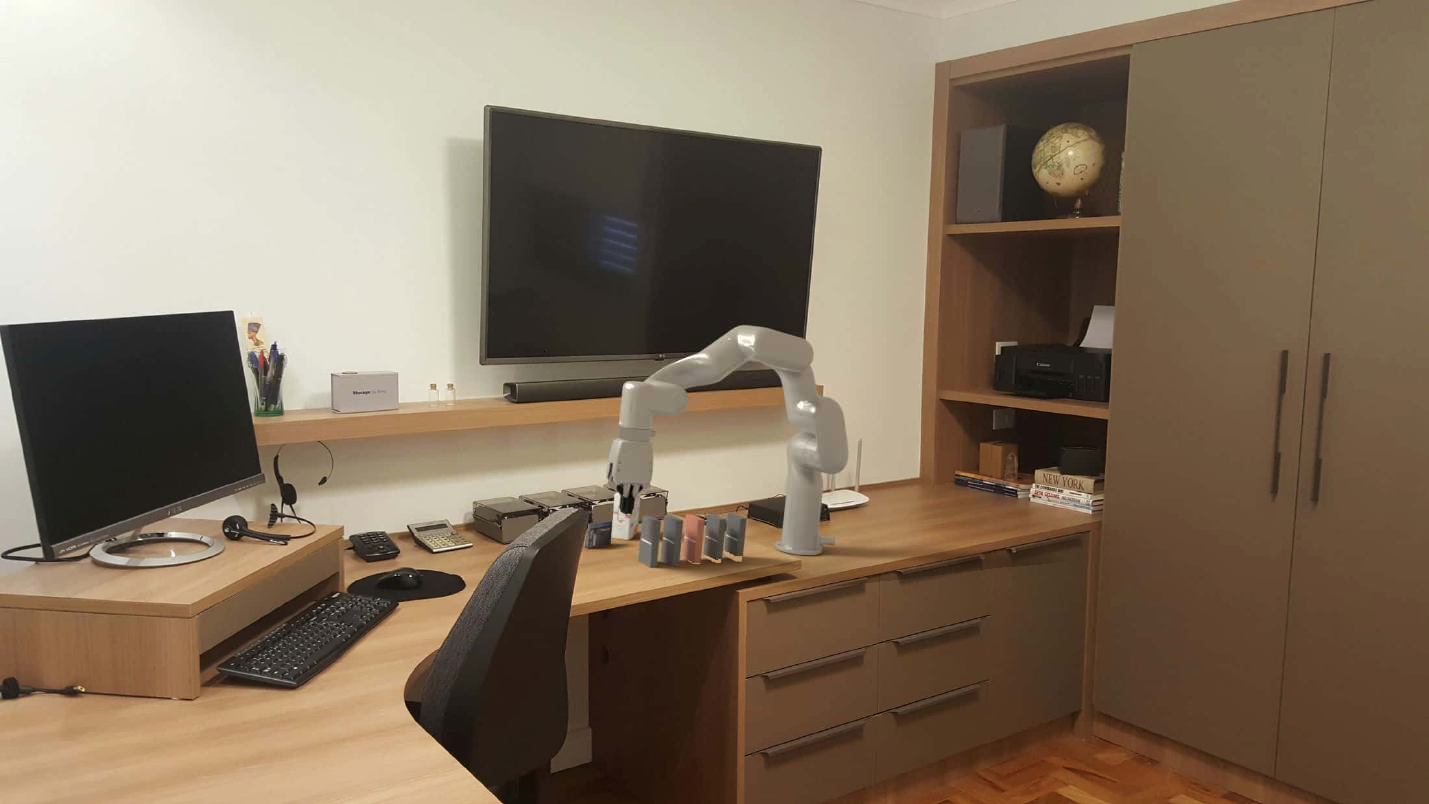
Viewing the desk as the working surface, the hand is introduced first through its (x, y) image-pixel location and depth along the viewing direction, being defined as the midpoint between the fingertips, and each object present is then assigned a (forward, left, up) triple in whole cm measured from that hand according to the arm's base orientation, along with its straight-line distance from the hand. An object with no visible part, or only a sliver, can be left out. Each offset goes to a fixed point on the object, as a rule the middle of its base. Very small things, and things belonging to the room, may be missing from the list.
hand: (626, 512), depth 234 cm
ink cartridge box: (-4, -30, -13) cm, 32 cm away
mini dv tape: (+4, -18, -13) cm, 22 cm away
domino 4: (-23, -9, -13) cm, 28 cm away
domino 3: (-18, -7, -13) cm, 23 cm away
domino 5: (-29, -11, -13) cm, 33 cm away
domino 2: (-12, -4, -13) cm, 18 cm away
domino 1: (-7, -2, -13) cm, 14 cm away
